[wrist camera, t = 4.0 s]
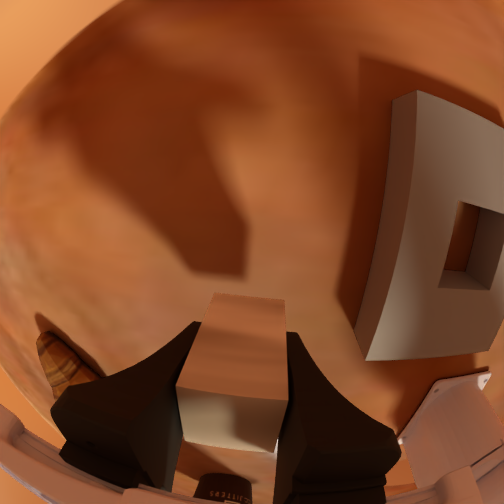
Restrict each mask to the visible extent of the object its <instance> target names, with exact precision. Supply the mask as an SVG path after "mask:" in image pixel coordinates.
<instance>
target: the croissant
mask: <svg viewBox="0 0 504 504" xmlns="http://www.w3.org/2000/svg"><path fill="white" fill-rule="evenodd" d="M36 345H37V350H38V355H39V359H40V362H41V365H42V367H43V370H44V372H45V375H46V377H47V380H48V381H49V383H50V385H51V387H52V390H53V395H54V399H55V401H57V399H58V398H59V397H60V395H61V394H62V393H63V391H64V390H65V389H66V388H67V387H68V386H70V385H76V384H81V383H86V382H90V381H94V380H98V379H101V377H100V376H99V375H97V374H96V373H95V372H94V371H93V370H92V369H91V368H89V367H88V366H87V365H86V364H85V363H83V362H82V360H81V359H80V358H79V357H78V355H77V354H76V353H75V352H74V351H72V350H71V349H70V348H69V347H68V346H67V345H66V344H65V343H64V342H63V341H62V340H61V339H59V338H58V337H57V336H55V335H54V334H53V333H51V332H50V331H47V332H44V333H41V334H40V336H39V338H38V339H37V342H36Z"/></svg>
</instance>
